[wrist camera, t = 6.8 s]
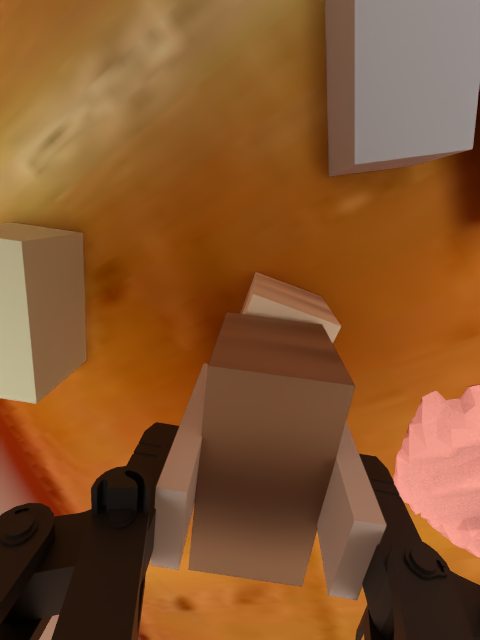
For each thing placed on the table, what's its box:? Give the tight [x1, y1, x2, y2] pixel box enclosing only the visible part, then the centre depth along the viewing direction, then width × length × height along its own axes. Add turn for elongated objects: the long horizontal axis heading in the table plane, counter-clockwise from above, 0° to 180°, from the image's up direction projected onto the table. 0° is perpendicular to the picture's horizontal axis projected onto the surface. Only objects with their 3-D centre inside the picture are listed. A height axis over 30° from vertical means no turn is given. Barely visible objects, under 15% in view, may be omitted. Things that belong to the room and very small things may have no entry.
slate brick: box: [325, 0, 480, 177], centre depth 13 cm, size 8×4×5 cm, turn 7°
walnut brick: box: [188, 312, 355, 587], centre depth 12 cm, size 8×4×5 cm, turn 173°
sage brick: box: [0, 223, 87, 404], centre depth 17 cm, size 8×4×5 cm, turn 172°
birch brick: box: [240, 272, 341, 344], centre depth 17 cm, size 8×4×5 cm, turn 160°
